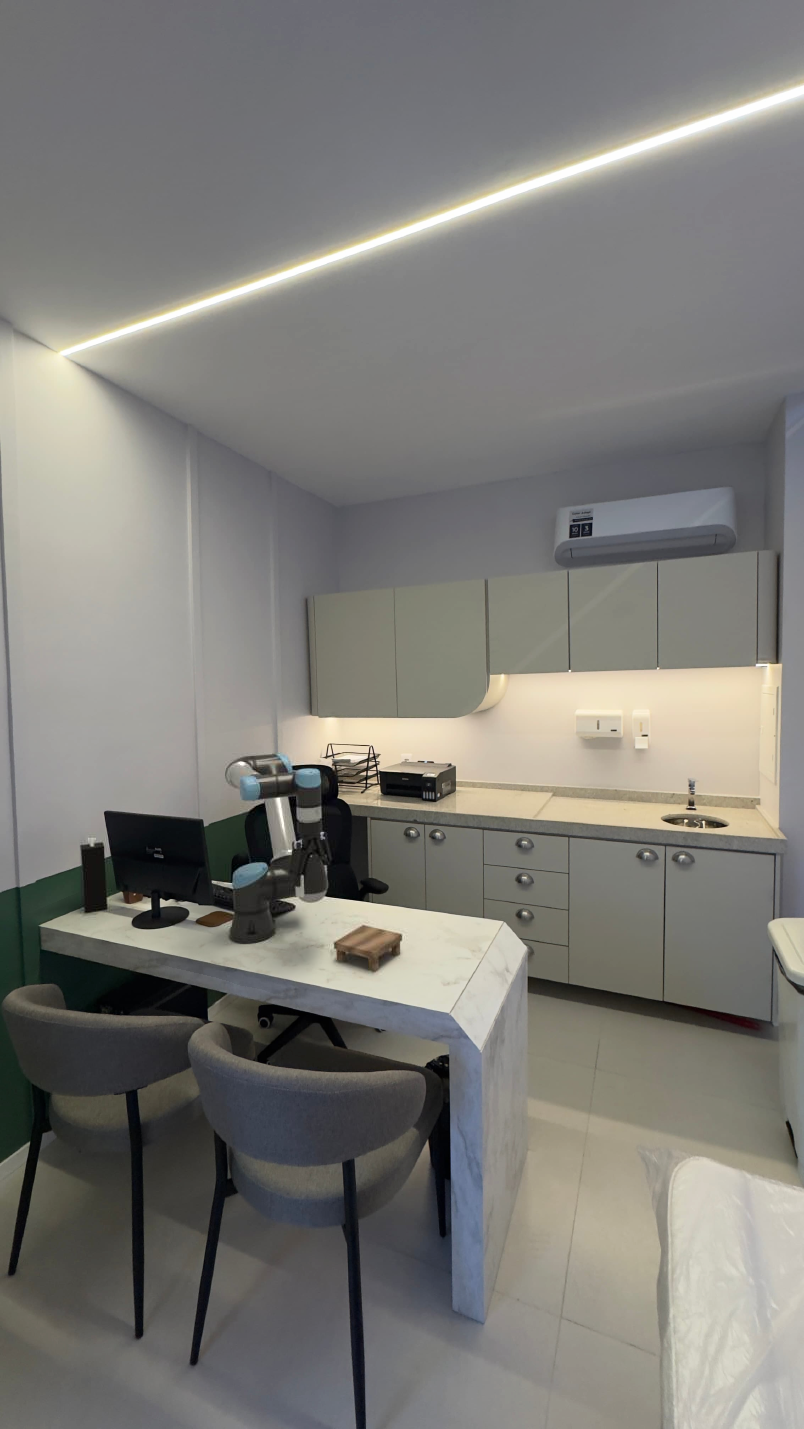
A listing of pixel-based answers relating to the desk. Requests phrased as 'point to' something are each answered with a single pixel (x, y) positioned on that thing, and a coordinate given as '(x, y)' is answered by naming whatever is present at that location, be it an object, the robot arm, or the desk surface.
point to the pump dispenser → (314, 878)
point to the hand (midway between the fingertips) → (311, 890)
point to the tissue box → (93, 876)
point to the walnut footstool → (368, 944)
